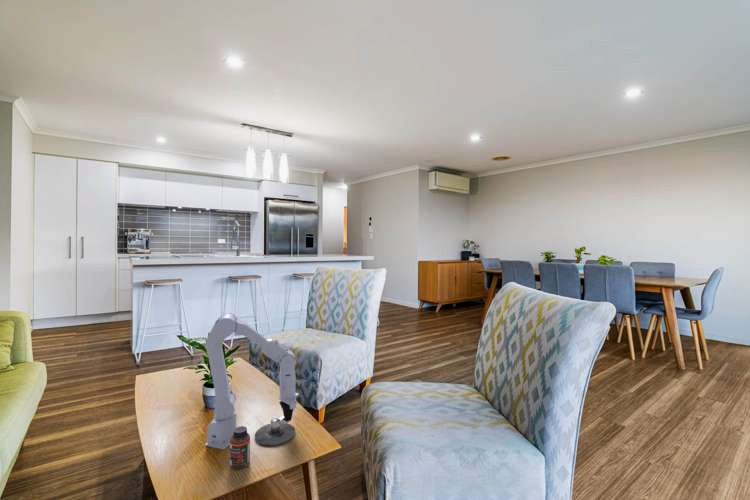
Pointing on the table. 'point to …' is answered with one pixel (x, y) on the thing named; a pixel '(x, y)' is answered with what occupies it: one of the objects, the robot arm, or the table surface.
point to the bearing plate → (274, 435)
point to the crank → (277, 424)
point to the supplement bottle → (239, 448)
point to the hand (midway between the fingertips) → (288, 420)
